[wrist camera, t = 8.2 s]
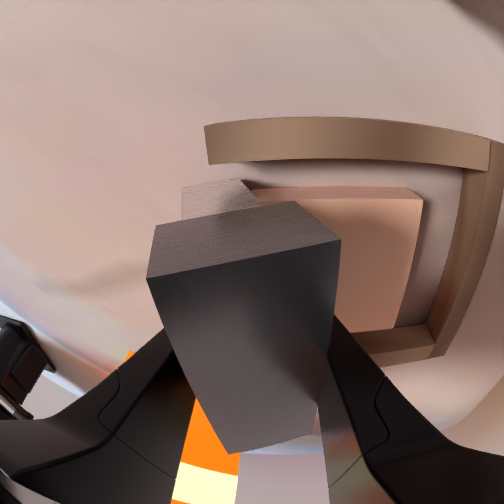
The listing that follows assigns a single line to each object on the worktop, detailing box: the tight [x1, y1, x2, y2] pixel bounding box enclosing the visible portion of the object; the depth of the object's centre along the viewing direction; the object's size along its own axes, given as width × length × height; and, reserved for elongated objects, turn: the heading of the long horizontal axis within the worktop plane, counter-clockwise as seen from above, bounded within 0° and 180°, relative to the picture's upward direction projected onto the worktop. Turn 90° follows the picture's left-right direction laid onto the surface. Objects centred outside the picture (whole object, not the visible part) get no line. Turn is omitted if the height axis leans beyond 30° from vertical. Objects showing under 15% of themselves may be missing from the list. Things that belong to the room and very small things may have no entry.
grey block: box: [146, 178, 342, 455], centre depth 8 cm, size 3×8×6 cm, turn 5°
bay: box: [204, 117, 504, 367], centre depth 10 cm, size 11×11×2 cm
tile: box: [252, 186, 423, 333], centre depth 10 cm, size 6×6×2 cm
